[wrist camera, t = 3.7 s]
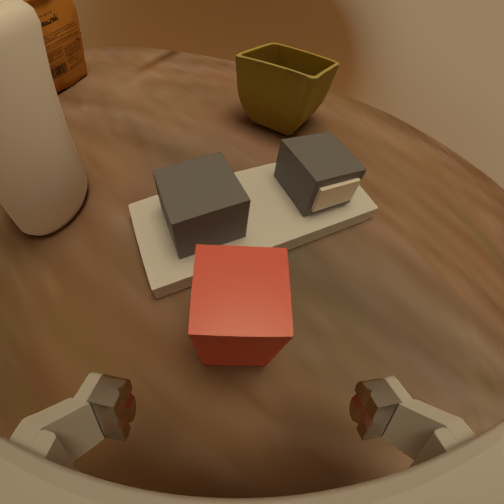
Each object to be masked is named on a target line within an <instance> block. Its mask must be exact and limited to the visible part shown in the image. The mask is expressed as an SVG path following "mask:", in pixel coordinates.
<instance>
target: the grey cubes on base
mask: <svg viewBox="0 0 504 504" xmlns="http://www.w3.org/2000/svg"><path fill="white" fill-rule="evenodd" d="M365 172H366V168H365V167H364V166H363V165H362V164H361V163H360V162H359V161H358V160H357V159H356V158H355V157H354V156H353V155H352V153H351V152H350V151H349V150H348V149H347V148H346V147H345V146H344V145H343V144H342V143H341V142H340V141H339V140H338V139H337V138H336V137H335V136H334V135H333V134H332V133H331V132H326V133H319V134H312V135H305V136H299V137H293V138H287V139H281V142H280V147H279V152H278V157H277V162H276V163H272V164H267V165H263V166H259V167H255V168H250V169H246V170H242V171H238V172H235V173H234V172H233V171H232V169H231V167H230V166H229V164H228V163H227V161H226V159H225V158H224V156H223V155H222V153H221V152H219V153H214V154H210V155H206V156H202V157H199V158H195V159H191V160H187V161H184V162H180V163H177V164H173V165H170V166H166V167H163V168H160V169H156V170H153V174H154V179H155V183H156V188H157V192H158V195H156V196H152V197H149V198H146V199H143V200H140V201H138V202H135V203H132V204H129V210H130V214H131V218H132V222H133V226H134V230H135V234H136V238H137V242H138V246H139V249H140V253H141V256H142V260H143V263H144V267H145V270H146V273H147V277H148V280H149V283H150V286H151V290H152V292H153V294H154V295H155V297H156V299H158V298H161V297H163V296H166V295H169V294H172V293H174V292H177V291H180V290H183V289H185V288H188V287H191V286H192V279H193V269H194V259H195V250H196V244H203V245H228V246H252V247H275V248H287V250H290V249H293V248H295V247H298V246H301V245H303V244H306V243H308V242H311V241H314V240H316V239H319V238H322V237H324V236H327V235H329V234H332V233H335V232H337V231H340V230H342V229H345V228H348V227H350V226H353V225H355V224H358V223H360V222H363V221H366V220H368V219H371V218H372V217H373V215H374V214H375V212H376V211H377V209H378V207H377V206H376V205H375V203H374V202H373V201H372V200H371V198H370V197H369V196H368V195H367V193H366V192H365V191H364V190H363V189H362V187H361V186H360V185H359V183H360V181H361V179H362V177H363V175H364V174H365Z"/></svg>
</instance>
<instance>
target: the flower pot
mask: <svg viewBox="0 0 504 504" xmlns="http://www.w3.org/2000/svg"><path fill="white" fill-rule="evenodd" d="M338 67H339V63H338V62H336V61H334V60H331V59H328V58H325V57H322V56H319V55H316V54H313V53H310V52H307V51H303V50H300V49H297V48H293V47H290V46H286V45H282V44H278V43H269V44H266V45H262V46H259V47H256V48H253V49H250V50H247V51H244V52H241V53H239V54H237V55H236V71H237V86H238V94H239V98H240V101H241V104H242V106H243V108H244V110H245V112H246V113H247V115H248V116H249V118H250V119H251V120H252V121H253V122H255V123H257V124H260V125H262V126H265V127H268V128H270V129H273V130H275V131H277V132H280V133H282V134H285V135H291V134H293V133H294V132H295V131H296V130H297V129H298V128H299V127H300V126H301V125H302V124H303V123H304V122H305V121H306V120H307V119H308V118H309V117H310V116H311V115H312V114H313V113H314V112H315V111H316V110H317V108H318V107H319V106H320V104H321V103H322V101H323V100H324V98H325V96H326V94H327V92H328V90H329V88H330V85H331V83H332V80H333V78H334V76H335V73H336V71H337V69H338Z"/></svg>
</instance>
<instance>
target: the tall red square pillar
mask: <svg viewBox="0 0 504 504" xmlns="http://www.w3.org/2000/svg"><path fill="white" fill-rule="evenodd" d="M188 335H189V337H190V339H191V341H192V343H193V345H194V347H195V350H196V352H197V354H198V356H199V358H200V360H201V362H202V364H203V365H224V366H265V365H266V364H267V363H268V362H269V361H270V360H271V359H272V358H273V357H274V356H275V355H276V354H277V353H278V352H279V351H280V350H281V349H282V348H283V347H284V346H285V345H286V344H287V343H288V342H289V341H290V340H291V339H292V337H293V322H292V306H291V292H290V279H289V266H288V254H287V248H275V247H252V246H228V245H203V244H196V250H195V259H194V269H193V279H192V290H191V302H190V315H189V329H188Z"/></svg>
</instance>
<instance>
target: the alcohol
mask: <svg viewBox="0 0 504 504" xmlns="http://www.w3.org/2000/svg"><path fill="white" fill-rule="evenodd" d="M87 185H88V180H87V176H86V174H85V171H84V169H83V166H82V164H81V161H80V159H79V156H78V154H77V151H76V149H75V146H74V143H73V141H72V138H71V135H70V132H69V129H68V127H67V124H66V121H65V118H64V115H63V112H62V109H61V105H60V102H59V99H58V95H57V92H56V89H55V85H54V81H53V78H52V74H51V70H50V66H49V62H48V57H47V53H46V48H45V44H44V39H43V33H42V28H41V22H40V20H39V18H38V16H37V14H36V12H35V10H34V8H33V7H32V6H30V5H29V4H28V3H26V2H24V1H22V0H0V204H1V205H2V206H3V208H4V209H5V210H6V212H7V213H8V215H9V216H10V217H11V219H12V220H13V221H14V222H15V224H16V225H17V226H18V228H19V229H20V230H21V231H22V232H23V233H26V234H28V235H37V236H43V235H48V234H51V233H53V232H55V231H57V230H59V229H61V228H62V227H63V226H65V225H66V224H67V223H68V222H69V221H71V220H72V218H73V217H74V216H75V215H76V214H77V212H78V211H79V209H80V208H81V206H82V204H83V202H84V199H85V195H86V191H87Z"/></svg>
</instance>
